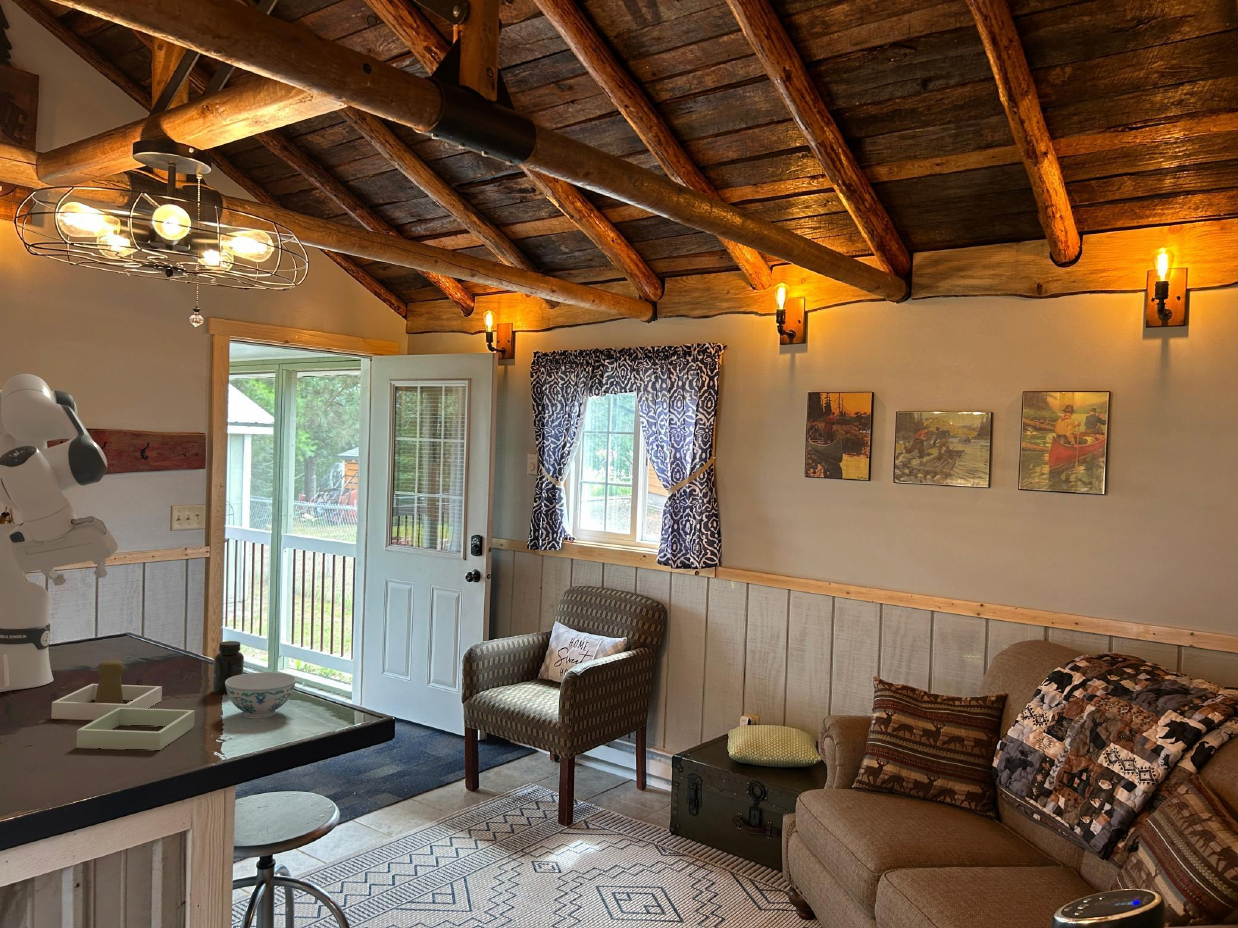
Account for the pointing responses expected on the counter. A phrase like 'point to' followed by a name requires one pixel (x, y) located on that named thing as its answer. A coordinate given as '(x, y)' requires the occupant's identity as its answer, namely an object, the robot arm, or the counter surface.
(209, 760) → the counter surface
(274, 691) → the chinaware
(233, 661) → the supplement bottle
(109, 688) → the cork
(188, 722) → the sage bin
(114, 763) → the counter surface
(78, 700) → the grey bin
